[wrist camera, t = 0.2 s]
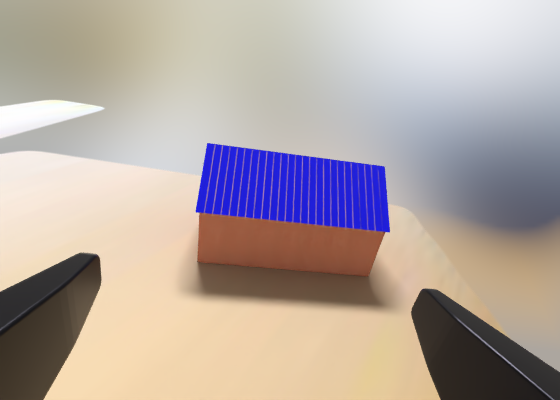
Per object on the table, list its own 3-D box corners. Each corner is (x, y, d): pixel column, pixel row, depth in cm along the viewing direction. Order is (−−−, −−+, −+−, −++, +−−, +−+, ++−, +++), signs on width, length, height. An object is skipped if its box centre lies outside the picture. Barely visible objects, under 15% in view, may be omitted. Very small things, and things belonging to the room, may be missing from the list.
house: (209, 209, 43) (214, 128, 38) (345, 223, 46) (368, 149, 40) (193, 265, 33) (197, 164, 27) (371, 280, 35) (406, 189, 30)
